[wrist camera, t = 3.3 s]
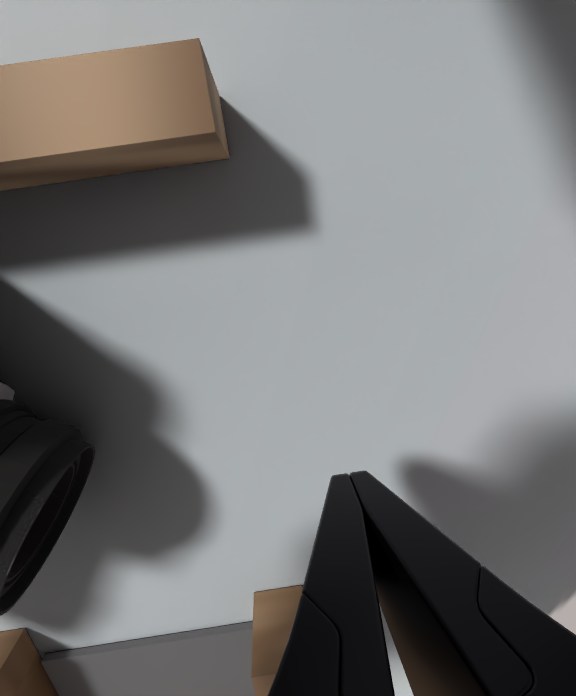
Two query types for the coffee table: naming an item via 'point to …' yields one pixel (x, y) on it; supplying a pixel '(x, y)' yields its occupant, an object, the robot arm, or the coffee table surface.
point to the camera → (34, 490)
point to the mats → (159, 665)
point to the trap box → (110, 159)
